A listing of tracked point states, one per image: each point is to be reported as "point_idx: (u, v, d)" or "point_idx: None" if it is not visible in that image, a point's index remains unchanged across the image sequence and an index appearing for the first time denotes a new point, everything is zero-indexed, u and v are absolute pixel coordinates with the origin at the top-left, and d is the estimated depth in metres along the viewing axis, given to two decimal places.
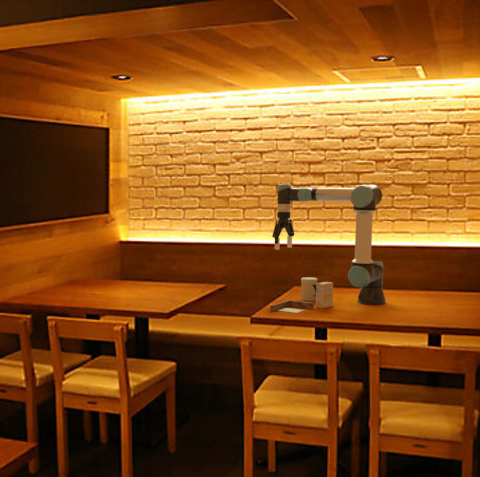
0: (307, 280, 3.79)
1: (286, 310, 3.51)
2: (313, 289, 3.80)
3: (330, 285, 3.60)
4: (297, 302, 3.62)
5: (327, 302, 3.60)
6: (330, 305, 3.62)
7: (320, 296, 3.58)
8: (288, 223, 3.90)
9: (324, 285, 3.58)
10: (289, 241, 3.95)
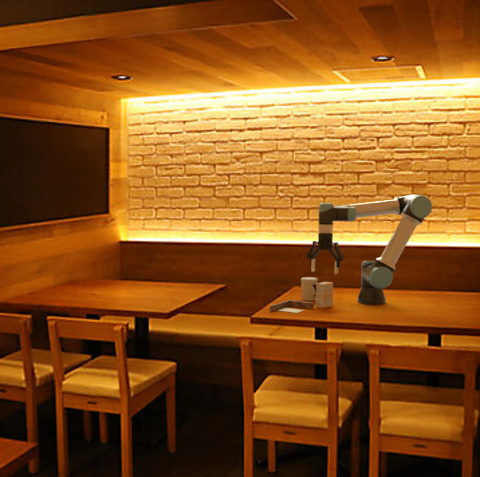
0: (307, 280, 3.79)
1: (286, 310, 3.51)
2: (313, 289, 3.80)
3: (330, 285, 3.60)
4: (297, 302, 3.62)
5: (327, 302, 3.60)
6: (330, 305, 3.62)
7: (320, 296, 3.58)
8: (327, 246, 3.56)
9: (324, 285, 3.58)
10: None
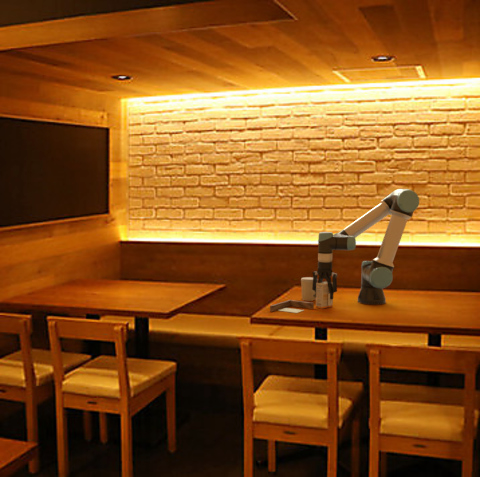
0: (307, 280, 3.79)
1: (286, 310, 3.51)
2: None
3: None
4: (297, 302, 3.62)
5: (327, 302, 3.60)
6: (330, 305, 3.62)
7: (320, 296, 3.58)
8: (326, 275, 3.58)
9: (324, 285, 3.58)
10: None
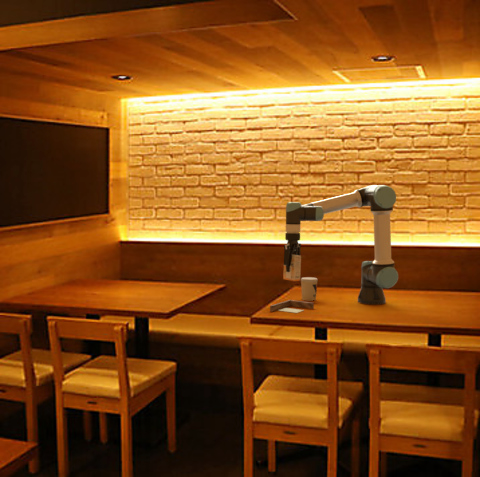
0: (307, 280, 3.79)
1: (286, 310, 3.51)
2: (313, 289, 3.80)
3: None
4: (297, 302, 3.62)
5: None
6: None
7: (299, 268, 3.47)
8: (297, 246, 3.50)
9: None
10: None
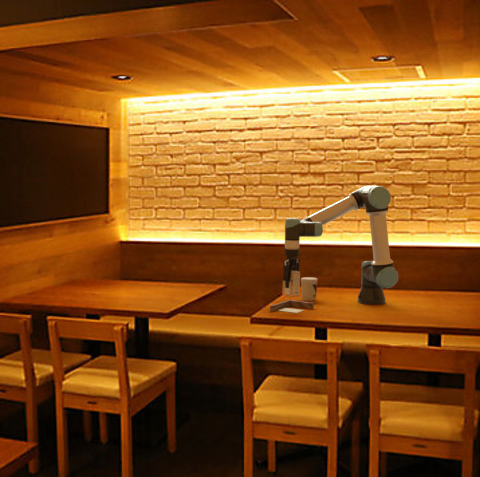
0: (307, 280, 3.79)
1: (286, 310, 3.51)
2: (313, 289, 3.80)
3: None
4: (297, 302, 3.62)
5: None
6: None
7: (298, 284, 3.48)
8: (296, 262, 3.50)
9: None
10: None
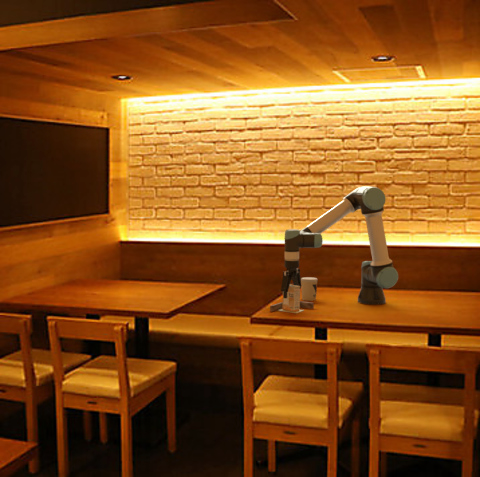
0: (307, 280, 3.79)
1: (286, 310, 3.51)
2: (313, 289, 3.80)
3: None
4: None
5: None
6: None
7: (298, 299, 3.49)
8: (296, 273, 3.51)
9: None
10: None
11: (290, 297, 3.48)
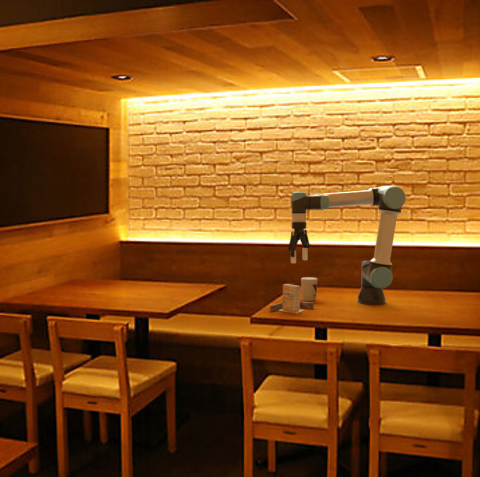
0: (307, 280, 3.79)
1: (286, 310, 3.51)
2: (313, 289, 3.80)
3: None
4: None
5: None
6: None
7: (298, 299, 3.49)
8: (304, 234, 3.59)
9: None
10: (304, 253, 3.64)
11: (290, 297, 3.48)
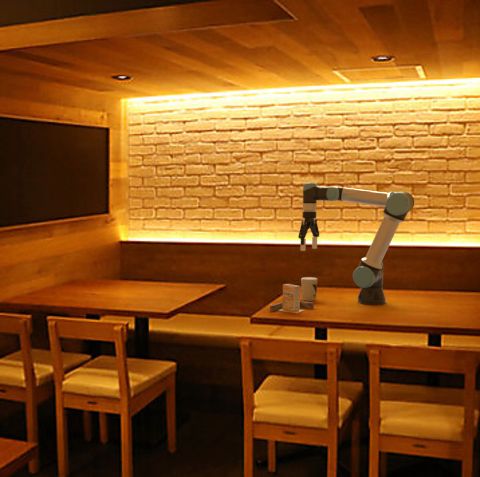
0: (307, 280, 3.79)
1: (286, 310, 3.51)
2: (313, 289, 3.80)
3: None
4: None
5: None
6: None
7: (298, 299, 3.49)
8: (314, 223, 3.76)
9: None
10: (314, 242, 3.81)
11: (290, 297, 3.48)
